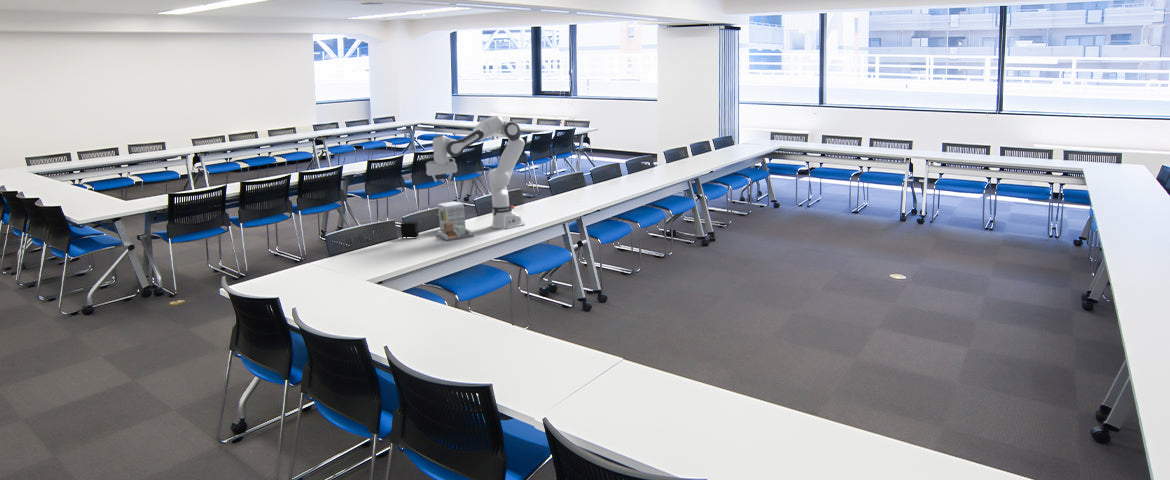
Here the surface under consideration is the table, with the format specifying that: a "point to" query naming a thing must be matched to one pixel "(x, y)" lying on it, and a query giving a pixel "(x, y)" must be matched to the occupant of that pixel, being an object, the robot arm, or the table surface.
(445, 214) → the supplement box
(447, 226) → the walnut plug
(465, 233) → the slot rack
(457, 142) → the robot arm
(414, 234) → the electronic device
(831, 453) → the table surface
